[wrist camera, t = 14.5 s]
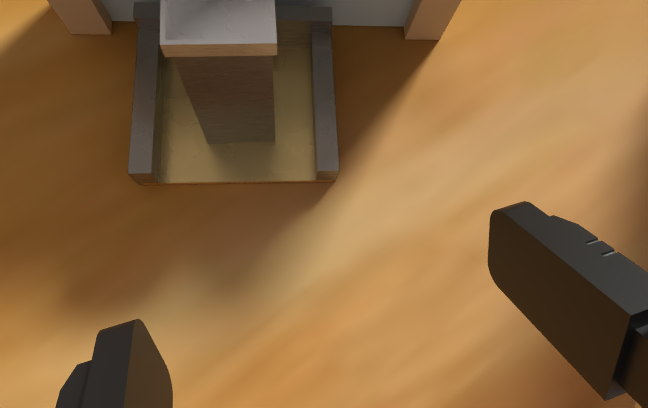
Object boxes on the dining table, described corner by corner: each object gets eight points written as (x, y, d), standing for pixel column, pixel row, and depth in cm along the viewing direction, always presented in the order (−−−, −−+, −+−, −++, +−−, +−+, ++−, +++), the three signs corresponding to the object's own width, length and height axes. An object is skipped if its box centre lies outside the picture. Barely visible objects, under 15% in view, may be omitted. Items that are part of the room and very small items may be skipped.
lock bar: (275, 79, 28) (271, -50, 18) (278, 144, 27) (276, 43, 17) (203, 81, 27) (161, -51, 18) (204, 147, 26) (159, 44, 17)
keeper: (327, 38, 29) (331, 6, 27) (334, 181, 27) (341, 164, 24) (149, 35, 28) (133, 2, 25) (139, 184, 26) (121, 167, 23)
